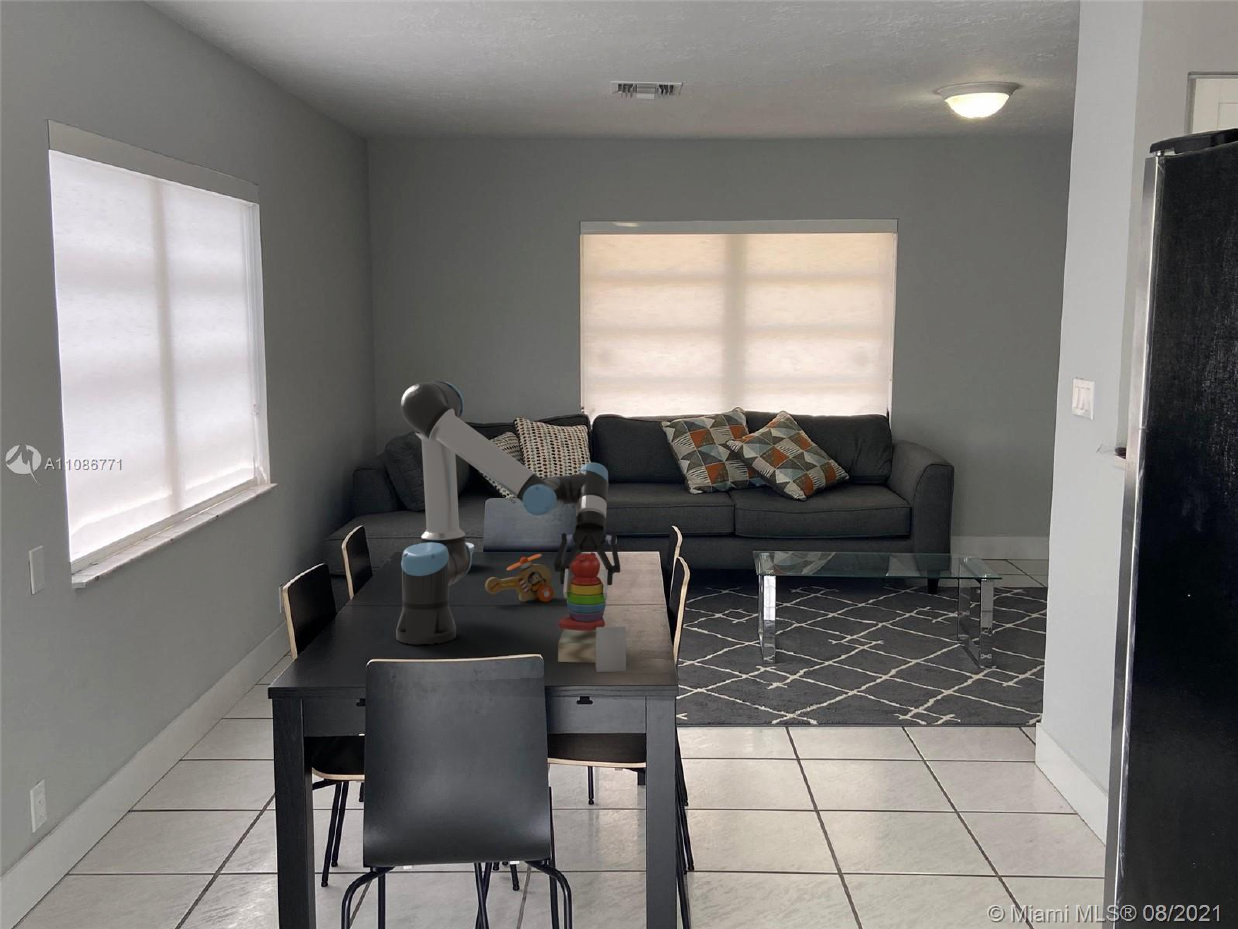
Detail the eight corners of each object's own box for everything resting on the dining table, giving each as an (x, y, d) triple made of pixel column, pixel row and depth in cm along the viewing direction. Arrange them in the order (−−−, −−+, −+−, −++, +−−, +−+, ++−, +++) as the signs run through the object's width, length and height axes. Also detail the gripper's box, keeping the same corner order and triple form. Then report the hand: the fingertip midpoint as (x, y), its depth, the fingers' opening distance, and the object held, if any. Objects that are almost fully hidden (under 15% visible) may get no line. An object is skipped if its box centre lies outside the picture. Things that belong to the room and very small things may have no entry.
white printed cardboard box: (626, 671, 251) (626, 629, 250) (596, 672, 250) (597, 629, 249) (624, 666, 255) (624, 624, 253) (595, 667, 254) (595, 625, 253)
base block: (558, 661, 258) (558, 641, 257) (563, 647, 270) (563, 627, 269) (608, 663, 257) (608, 642, 256) (611, 648, 269) (612, 628, 268)
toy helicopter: (557, 600, 317) (557, 554, 315) (492, 609, 306) (492, 562, 304) (543, 595, 324) (543, 549, 322) (480, 603, 313) (479, 556, 311)
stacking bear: (582, 617, 270) (582, 547, 268) (615, 624, 264) (615, 552, 262) (554, 627, 261) (554, 554, 259) (587, 634, 255) (588, 559, 253)
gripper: (634, 527, 275) (630, 604, 261) (549, 525, 276) (541, 602, 262) (633, 509, 269) (629, 587, 255) (546, 508, 270) (538, 586, 256)
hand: (585, 595), depth 258 cm, fingers closed on stacking bear, 9 cm apart
